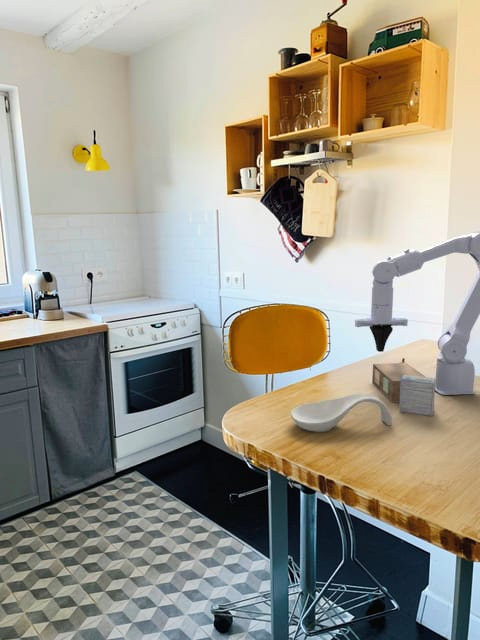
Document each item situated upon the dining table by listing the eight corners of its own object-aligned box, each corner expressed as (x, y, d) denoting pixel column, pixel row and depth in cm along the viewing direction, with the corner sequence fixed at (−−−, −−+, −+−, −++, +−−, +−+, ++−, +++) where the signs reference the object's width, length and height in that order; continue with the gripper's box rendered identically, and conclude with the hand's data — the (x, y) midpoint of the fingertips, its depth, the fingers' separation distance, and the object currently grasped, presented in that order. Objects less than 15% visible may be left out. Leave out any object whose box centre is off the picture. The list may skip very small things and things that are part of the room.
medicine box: (433, 410, 124) (436, 377, 122) (432, 417, 120) (434, 382, 119) (401, 406, 127) (402, 373, 126) (398, 412, 123) (400, 378, 122)
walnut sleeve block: (405, 381, 146) (406, 363, 145) (428, 400, 131) (430, 379, 130) (372, 382, 146) (373, 363, 145) (391, 402, 130) (392, 381, 129)
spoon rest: (298, 440, 109) (298, 409, 108) (285, 419, 120) (285, 391, 119) (399, 432, 112) (400, 402, 111) (377, 412, 124) (378, 385, 122)
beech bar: (405, 380, 143) (405, 368, 143) (410, 384, 140) (410, 372, 139) (374, 381, 143) (375, 369, 142) (378, 385, 139) (379, 373, 139)
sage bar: (414, 388, 137) (415, 376, 136) (420, 392, 133) (421, 380, 132) (382, 389, 136) (383, 377, 135) (387, 394, 132) (388, 381, 132)
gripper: (401, 301, 143) (399, 346, 146) (352, 302, 142) (351, 347, 145) (411, 305, 136) (408, 352, 139) (359, 306, 135) (358, 354, 138)
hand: (379, 350), depth 141 cm, fingers closed
